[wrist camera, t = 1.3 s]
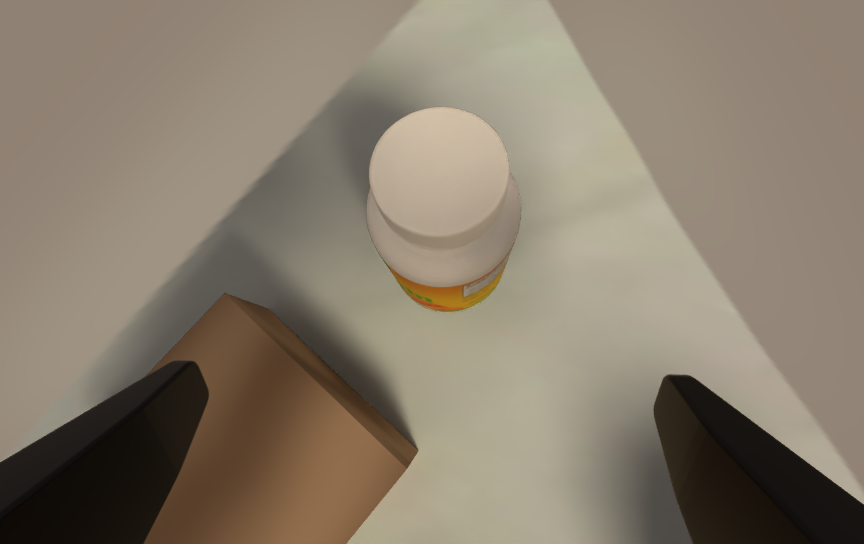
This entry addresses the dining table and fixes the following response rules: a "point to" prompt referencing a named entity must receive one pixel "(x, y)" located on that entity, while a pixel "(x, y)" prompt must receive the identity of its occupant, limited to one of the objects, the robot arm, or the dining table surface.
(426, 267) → the supplement bottle
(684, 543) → the dining table surface
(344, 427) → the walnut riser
